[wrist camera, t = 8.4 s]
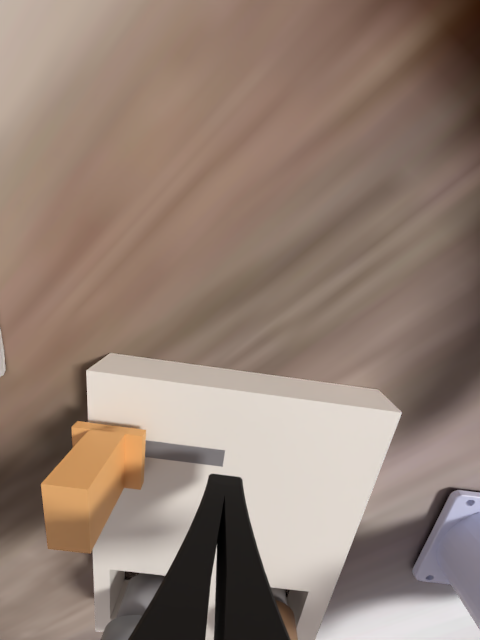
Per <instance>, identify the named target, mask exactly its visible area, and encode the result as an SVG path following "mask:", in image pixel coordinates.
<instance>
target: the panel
mask: <svg viewBox="0 0 480 640" xmlns="http://www.w3.org/2000/svg"><path fill="white" fill-rule="evenodd" d="M86 376H87V405H88V422H89V423H97V424H105V425H112V426H120V427H128V428H136V429H144V430H146V444H145V467H144V483H143V485H142V487H141V490H138V489H129V488H124V489H123V491H122V493H121V495H120V497H119V499H118V501H117V503H116V505H115V507H114V508H113V510H112V512H111V514H110V516H109V518H108V520H107V522H106V524H105V526H104V528H103V530H102V532H101V534H100V536H99V538H98V540H97V542H96V544H95V545H94V547H93V576H94V605H95V631H97V632H104V629H105V627H106V625H107V624H108V623H109V622H110V621H112V620H113V619H115V618H116V616H117V614H118V611H119V608H120V605H121V602H122V599H123V596H124V594H125V591H126V588H127V585H128V582H129V581H130V580H126V579H125V571H128V572H137V573H146V574H155V575H164V576H166V574H167V572H168V570H169V568H170V566H171V564H172V563H173V561H174V559H175V557H176V555H177V553H178V551H179V549H180V547H181V545H182V543H183V541H184V539H185V537H186V535H187V532H188V530H189V528H190V526H191V524H192V521H193V519H194V517H195V514H196V512H197V510H198V507H199V505H200V502H201V500H202V497H203V494H204V491H205V488H206V485H207V481H208V477H209V475H210V474H220V475H228V476H236V477H241V479H242V481H243V489H244V495H245V500H246V505H247V510H248V514H249V518H250V522H251V526H252V530H253V533H254V537H255V541H256V544H257V547H258V551H259V554H260V557H261V560H262V563H263V567H264V570H265V573H266V576H267V579H268V582H269V584H270V587H272V588H281V589H290V591H289V594H288V597H286V602H287V605H288V606H289V607H290V608H291V609H292V611H293V613H294V616H295V623H296V630H297V637H298V640H315V638H316V635H317V633H318V630H319V628H320V625H321V622H322V620H323V617H324V615H325V612H326V609H327V607H328V604H329V602H330V599H331V596H332V594H333V591H334V589H335V586H336V583H337V581H338V578H339V576H340V573H341V570H342V568H343V565H344V563H345V560H346V557H347V555H348V552H349V550H350V547H351V544H352V542H353V539H354V536H355V534H356V531H357V529H358V526H359V523H360V521H361V518H362V516H363V513H364V510H365V508H366V505H367V503H368V500H369V497H370V495H371V492H372V490H373V487H374V484H375V482H376V479H377V477H378V474H379V471H380V469H381V466H382V464H383V461H384V458H385V456H386V453H387V451H388V448H389V445H390V443H391V440H392V438H393V435H394V432H395V430H396V427H397V425H398V422H399V419H400V417H401V414H402V412H401V411H400V410H399V409H398V408H397V407H396V406H395V405H394V404H393V403H392V402H391V401H390V400H389V399H388V398H387V397H386V396H385V395H384V394H383V393H381V392H380V391H379V390H378V389H371V388H364V387H356V386H349V385H342V384H334V383H327V382H320V381H312V380H305V379H298V378H290V377H283V376H276V375H268V374H261V373H254V372H246V371H239V370H232V369H224V368H217V367H210V366H202V365H195V364H188V363H180V362H173V361H166V360H158V359H151V358H143V357H136V356H129V355H121V354H114V353H110V354H108V355H107V356H105V357H104V358H103V359H101V360H100V361H99V362H97V363H96V364H94V365H93V366H92V367H90V368H89V369H87V370H86ZM216 561H217V547H216V553H215V559H214V565H213V570H212V576H211V585H210V595H209V606H208V616H207V627H206V637H205V640H214V625H215V593H216Z"/></svg>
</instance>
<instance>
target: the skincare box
mask: <svg viewBox="0 0 480 640" xmlns="http://www.w3.org/2000/svg"><path fill="white" fill-rule="evenodd" d="M5 371H6V367H5V356H4V348H3V342H2V335H1V329H0V377H1V376H3V375H4V373H5Z"/></svg>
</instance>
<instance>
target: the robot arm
mask: <svg viewBox="0 0 480 640" xmlns="http://www.w3.org/2000/svg"><path fill="white" fill-rule="evenodd" d="M216 547H217V561H216V593H215V625H214V640H291V639H290V637H289V634H288V632H287V629H286V627H285V624H284V622H283V619H282V617H281V614H280V612H279V609H278V606H277V604H276V601H275V598H274V596H273V593H272V590H271V587H270V584H269V582H268V579H267V576H266V573H265V570H264V567H263V563H262V560H261V557H260V554H259V551H258V547H257V544H256V541H255V537H254V533H253V530H252V526H251V522H250V518H249V514H248V510H247V505H246V500H245V495H244V489H243V481H242V479H241V477H236V476H228V475H220V474H210V475H209V477H208V481H207V485H206V488H205V491H204V494H203V497H202V500H201V502H200V505H199V507H198V510H197V512H196V514H195V517H194V519H193V521H192V524H191V526H190V528H189V530H188V532H187V535H186V537H185V539H184V541H183V543H182V545H181V547H180V549H179V551H178V553H177V555H176V557H175V559H174V561H173V563H172V564H171V566H170V568H169V570H168V572H167V574H166V576H165V577H164V579H163V581H162V583H161V585H160V586H159V588H158V590H157V592H156V593H155V595H154V597H153V599H152V600H151V602H150V604H149V605H148V607H147V609H146V610H145V612H144V614H143V615H142V617H141V619H140V620H139V622H138V624H137V625H136V627H135V629H134V630H133V632H132V634H131V635H130V637H129V638H128V640H205V637H206V627H207V616H208V606H209V595H210V585H211V576H212V570H213V565H214V559H215V553H216ZM412 572H413V574H414V576H415V578H416V579H417V580H418V581H424V582H432V583H441V584H450V585H452V587H453V589H454V590H455V592H456V593H457V595H458V596H459V598H460V600H461V601H462V603H463V604H464V606H465V607H466V609H467V611H468V612H469V614H470V615H471V617H472V618H473V620H474V622H475V623H476V625H477V626H478V628H479V629H480V493H479V492H471V491H463V490H456V491H453V492H452V493H451V494H450V496H449V498H448V500H447V502H446V504H445V506H444V507H443V509H442V511H441V513H440V515H439V517H438V519H437V521H436V523H435V525H434V527H433V529H432V531H431V533H430V535H429V537H428V539H427V541H426V543H425V545H424V547H423V549H422V551H421V553H420V555H419V557H418V559H417V561H416V563H415V565H414V567H413V570H412Z"/></svg>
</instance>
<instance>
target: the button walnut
mask: <svg viewBox="0 0 480 640" xmlns="http://www.w3.org/2000/svg"><path fill="white" fill-rule="evenodd" d="M271 590H272V593H273V596H274V598H275V601H276V604H277V606H278V609H279V612H280V614H281V617H282V619H283V622H284V624H285V627H286V629H287V632H288V634H289V637H290V639H291V640H298V637H297V630H296V623H295V616H294V613H293V611H292V609H291V608H290V607H289V606H288V605H287V602H286V594H285V589H281V588H272V587H271Z"/></svg>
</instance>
